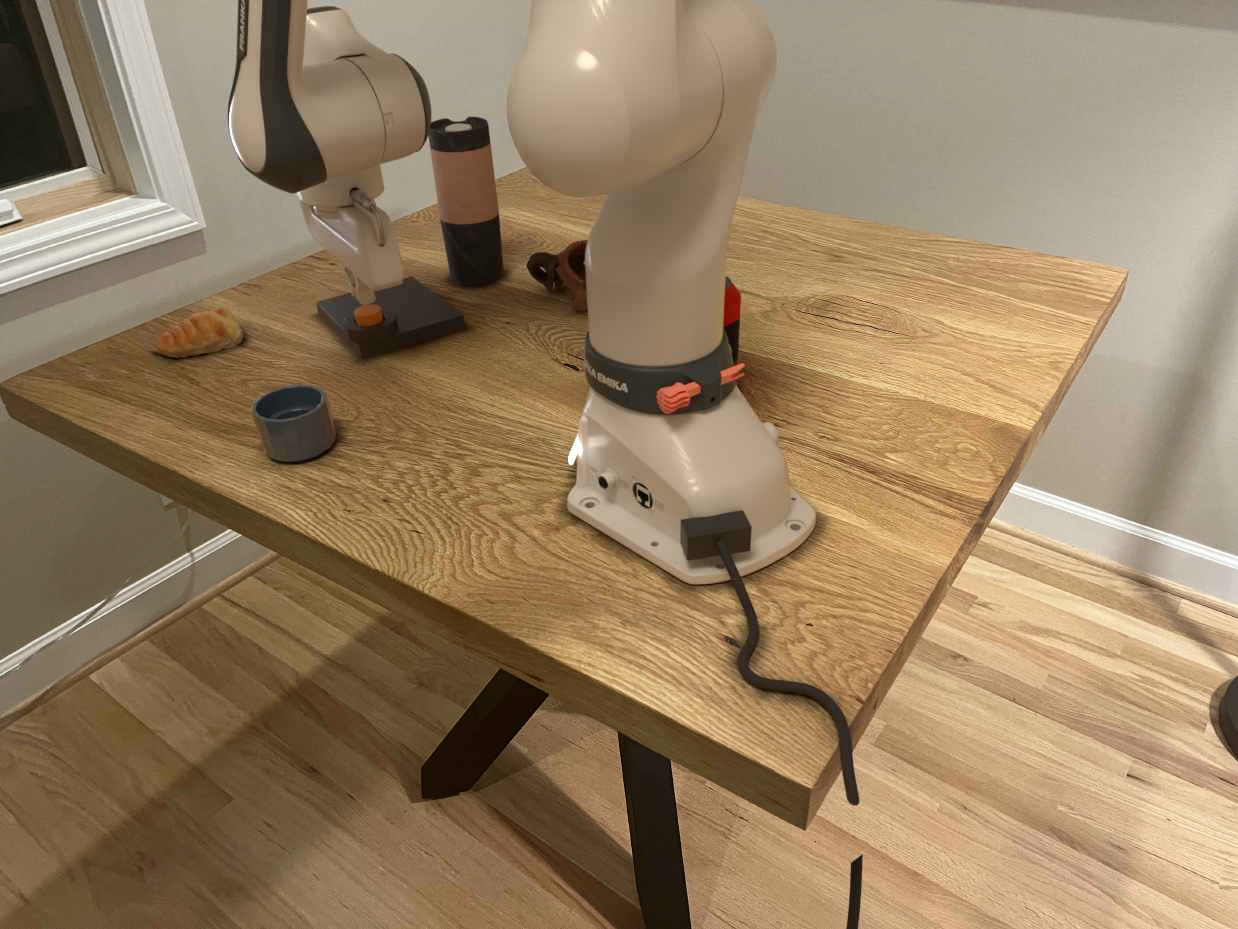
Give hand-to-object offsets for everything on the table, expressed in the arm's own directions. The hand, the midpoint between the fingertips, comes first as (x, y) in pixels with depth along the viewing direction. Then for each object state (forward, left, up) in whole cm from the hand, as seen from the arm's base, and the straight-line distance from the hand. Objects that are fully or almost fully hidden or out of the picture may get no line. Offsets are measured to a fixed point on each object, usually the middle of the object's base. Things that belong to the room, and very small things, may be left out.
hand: (364, 299), depth 102 cm
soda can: (-31, -24, -6) cm, 40 cm away
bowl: (-16, +14, -6) cm, 22 cm away
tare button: (0, 0, -3) cm, 3 cm away
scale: (+5, -4, -6) cm, 9 cm away
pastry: (+13, +16, -6) cm, 21 cm away
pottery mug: (-3, -26, -6) cm, 27 cm away
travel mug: (+11, -19, -6) cm, 23 cm away
